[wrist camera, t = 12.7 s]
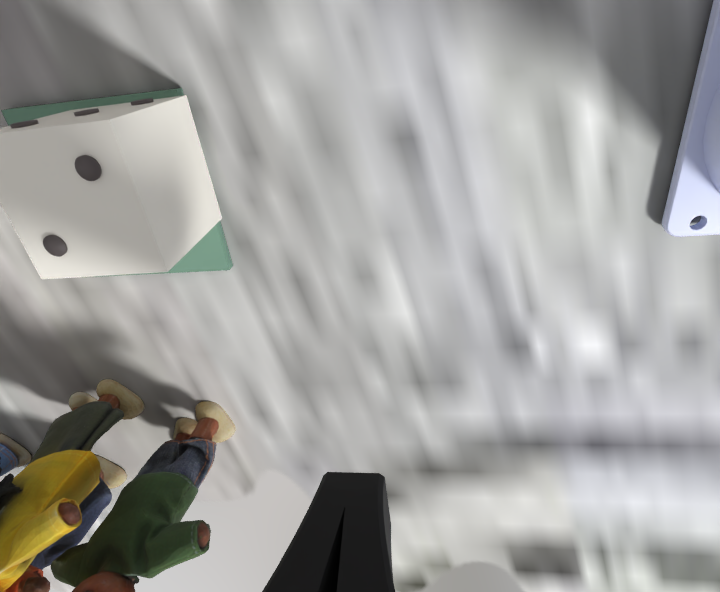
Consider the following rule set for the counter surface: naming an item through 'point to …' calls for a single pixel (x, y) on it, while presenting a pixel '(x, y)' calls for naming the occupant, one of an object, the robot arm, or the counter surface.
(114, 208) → the die
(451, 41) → the counter surface
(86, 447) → the doll family
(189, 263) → the felt mat
